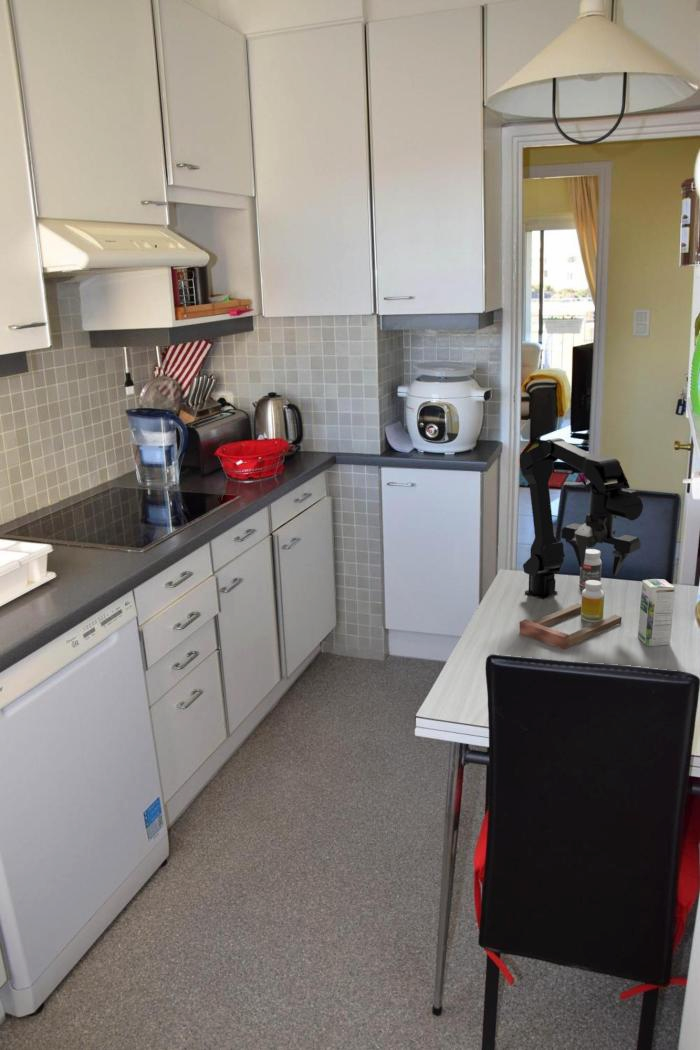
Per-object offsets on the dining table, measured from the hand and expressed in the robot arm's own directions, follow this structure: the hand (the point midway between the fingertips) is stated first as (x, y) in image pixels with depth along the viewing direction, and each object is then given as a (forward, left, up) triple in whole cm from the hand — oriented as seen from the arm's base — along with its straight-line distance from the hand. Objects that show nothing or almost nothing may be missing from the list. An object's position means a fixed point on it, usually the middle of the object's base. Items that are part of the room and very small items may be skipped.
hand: (597, 570), depth 209 cm
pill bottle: (-16, +19, -13) cm, 28 cm away
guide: (-1, -8, -13) cm, 15 cm away
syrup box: (+17, -2, -13) cm, 22 cm away
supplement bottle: (-1, -1, -13) cm, 13 cm away
